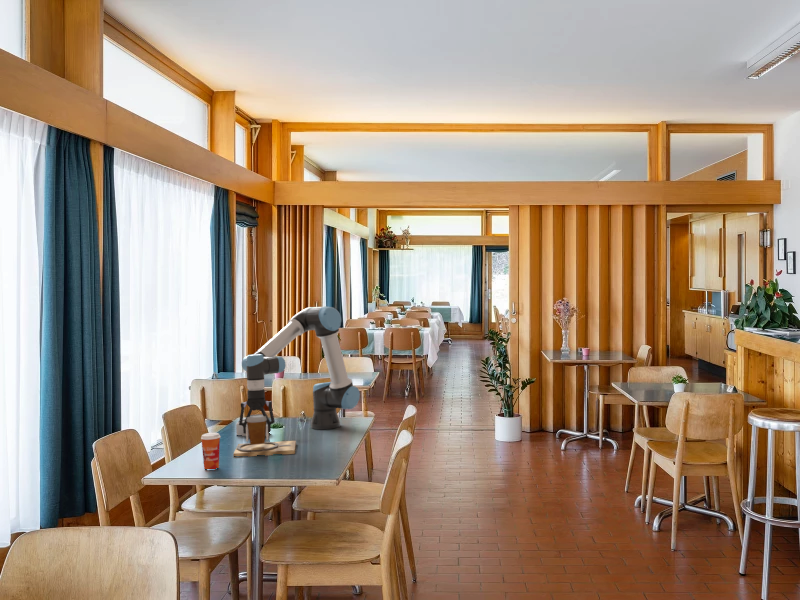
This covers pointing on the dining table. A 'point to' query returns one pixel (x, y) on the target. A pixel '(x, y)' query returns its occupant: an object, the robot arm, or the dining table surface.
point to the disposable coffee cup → (257, 428)
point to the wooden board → (265, 448)
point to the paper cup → (211, 450)
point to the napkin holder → (240, 429)
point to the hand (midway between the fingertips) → (257, 440)
